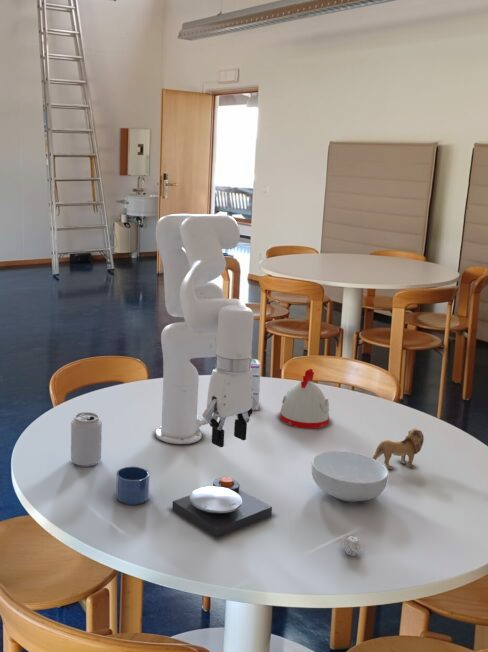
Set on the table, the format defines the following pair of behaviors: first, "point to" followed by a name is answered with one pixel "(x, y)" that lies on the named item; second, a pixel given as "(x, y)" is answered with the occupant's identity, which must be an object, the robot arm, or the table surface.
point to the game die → (352, 545)
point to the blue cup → (132, 485)
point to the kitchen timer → (305, 405)
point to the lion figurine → (401, 448)
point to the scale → (228, 521)
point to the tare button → (226, 481)
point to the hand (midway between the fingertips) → (228, 440)
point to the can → (86, 439)
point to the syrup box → (256, 380)
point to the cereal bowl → (349, 475)
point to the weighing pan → (215, 499)
